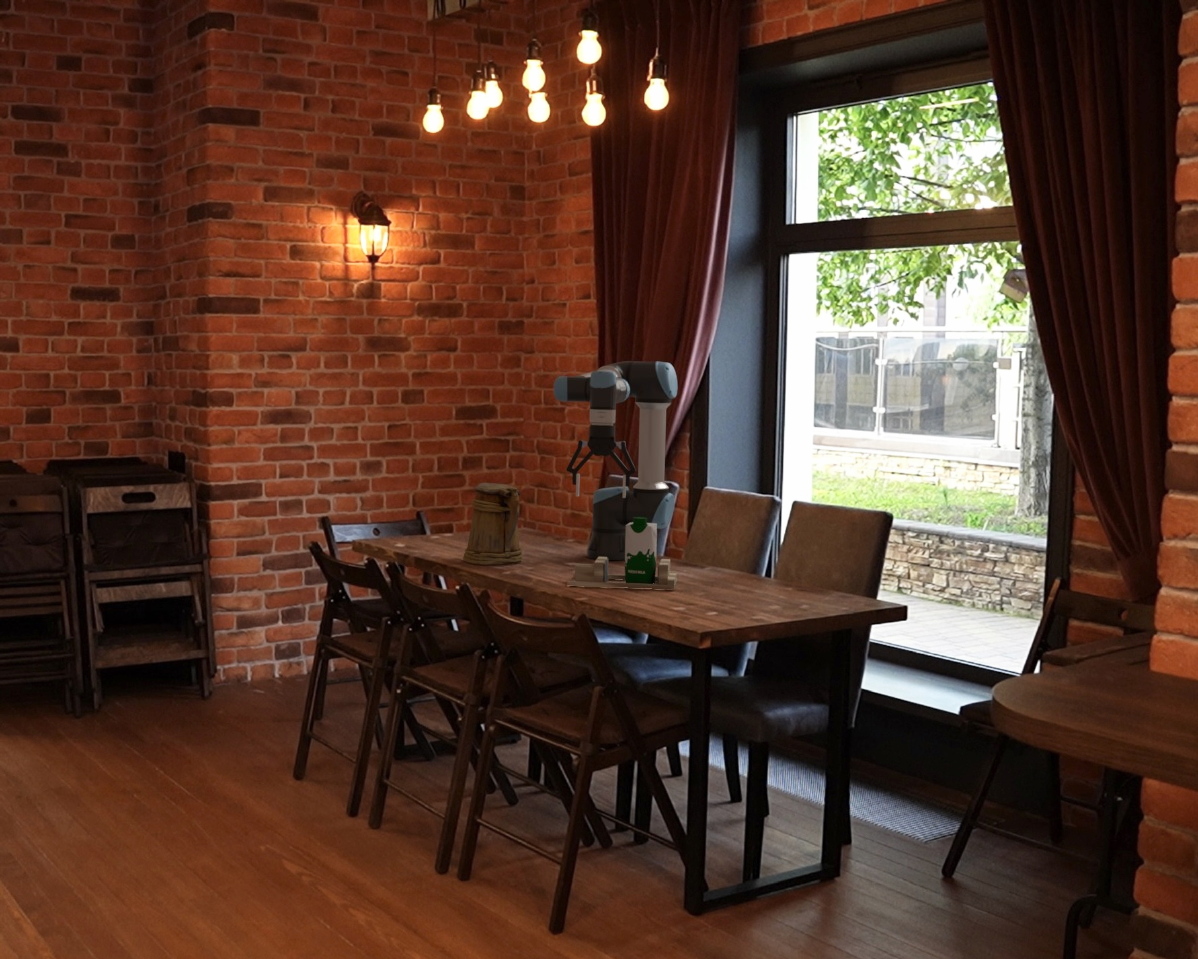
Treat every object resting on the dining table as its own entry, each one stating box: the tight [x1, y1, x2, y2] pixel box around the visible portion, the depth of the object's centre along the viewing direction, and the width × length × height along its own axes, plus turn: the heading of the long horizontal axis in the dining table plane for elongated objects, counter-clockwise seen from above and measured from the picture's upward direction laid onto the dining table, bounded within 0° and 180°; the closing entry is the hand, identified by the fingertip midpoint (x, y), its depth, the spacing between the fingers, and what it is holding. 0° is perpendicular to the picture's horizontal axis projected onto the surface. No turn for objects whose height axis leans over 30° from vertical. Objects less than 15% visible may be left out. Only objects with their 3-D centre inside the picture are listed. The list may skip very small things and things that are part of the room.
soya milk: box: [624, 517, 658, 584], centre depth 398 cm, size 9×9×20 cm
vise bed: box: [566, 558, 678, 590], centre depth 399 cm, size 16×31×7 cm, turn 84°
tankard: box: [462, 482, 523, 566], centre depth 434 cm, size 18×24×25 cm
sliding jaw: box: [574, 557, 609, 582], centre depth 400 cm, size 12×9×7 cm
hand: (600, 496), depth 399 cm, fingers open, 13 cm apart
